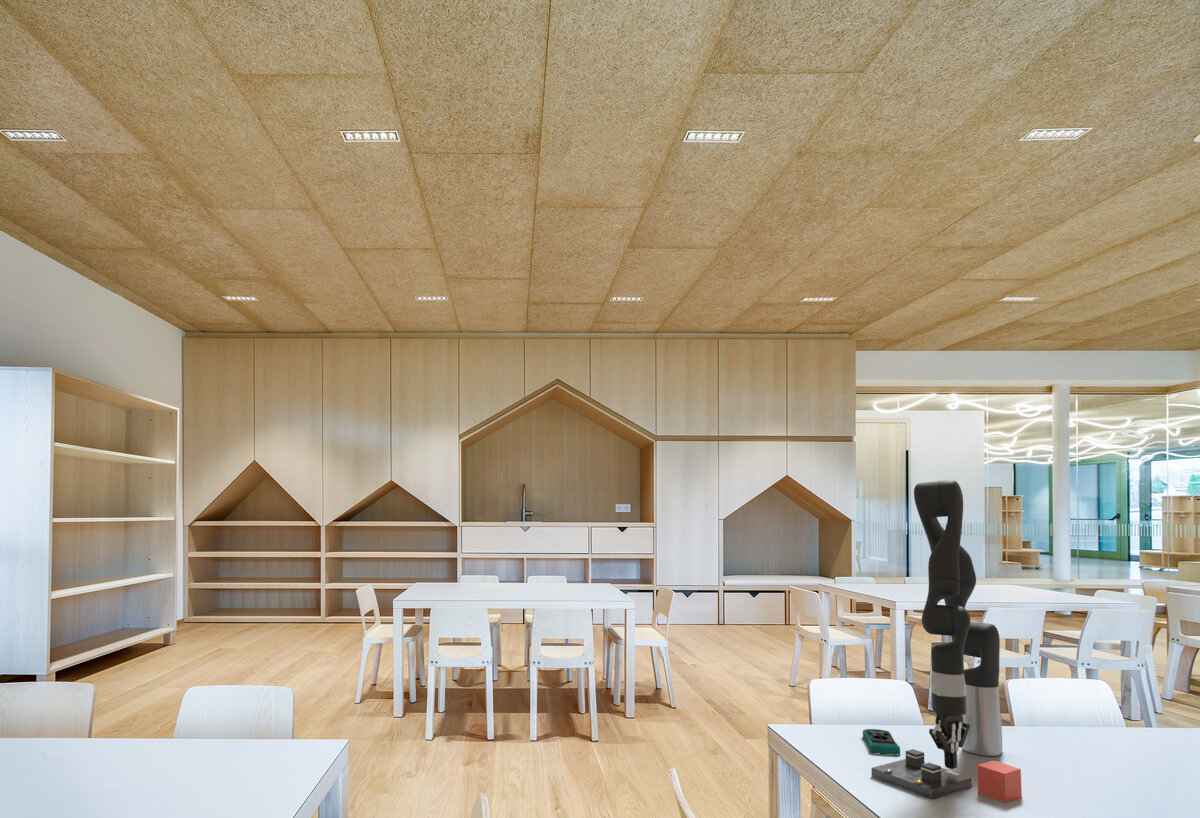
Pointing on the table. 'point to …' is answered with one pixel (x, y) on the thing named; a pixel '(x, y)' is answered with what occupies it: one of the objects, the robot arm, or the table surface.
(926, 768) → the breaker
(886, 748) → the digital multimeter
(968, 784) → the breaker panel
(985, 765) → the red cube
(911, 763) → the breaker
